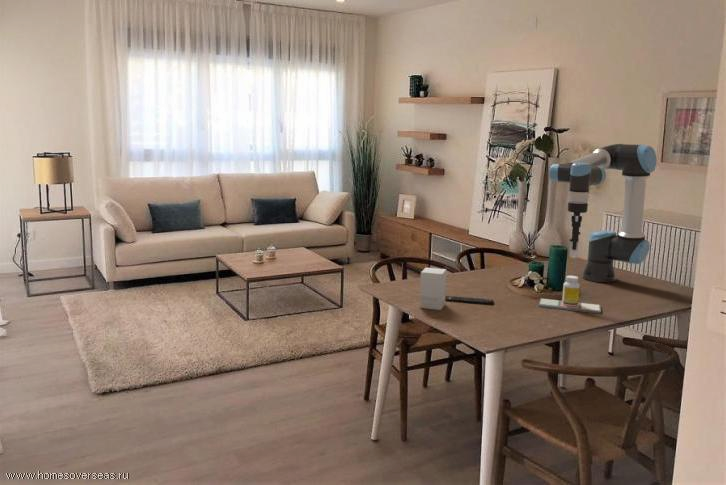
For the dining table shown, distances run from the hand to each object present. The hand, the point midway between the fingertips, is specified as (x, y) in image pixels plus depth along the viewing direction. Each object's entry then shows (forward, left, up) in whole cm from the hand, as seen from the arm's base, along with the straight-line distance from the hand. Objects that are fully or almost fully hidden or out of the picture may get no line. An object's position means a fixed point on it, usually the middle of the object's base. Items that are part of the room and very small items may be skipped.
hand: (573, 253), depth 259 cm
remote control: (+10, -42, -23) cm, 48 cm away
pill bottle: (+1, 0, -21) cm, 21 cm away
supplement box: (+22, -52, -22) cm, 61 cm away
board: (+1, 0, -22) cm, 22 cm away
